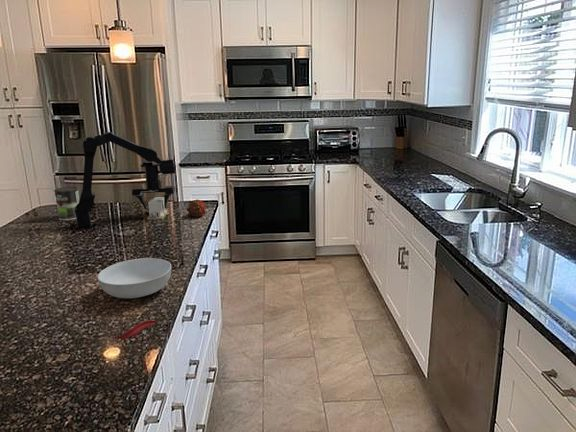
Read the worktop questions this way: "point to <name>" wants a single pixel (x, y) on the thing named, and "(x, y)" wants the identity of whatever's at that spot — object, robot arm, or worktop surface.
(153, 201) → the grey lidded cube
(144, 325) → the cayenne pepper
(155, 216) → the rail
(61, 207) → the grey green cylinder
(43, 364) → the worktop surface
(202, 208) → the dragon fruit
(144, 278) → the serving bowl
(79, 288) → the worktop surface
